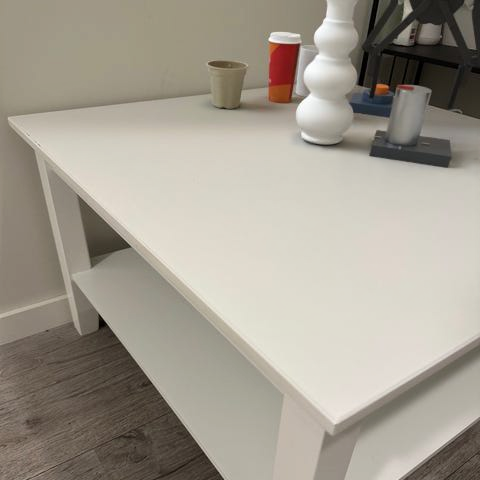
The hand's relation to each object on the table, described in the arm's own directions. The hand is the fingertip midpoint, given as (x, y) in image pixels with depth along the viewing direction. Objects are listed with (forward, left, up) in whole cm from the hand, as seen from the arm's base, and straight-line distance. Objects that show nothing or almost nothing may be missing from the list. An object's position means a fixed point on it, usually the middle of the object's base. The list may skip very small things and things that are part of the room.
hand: (409, 102), depth 86 cm
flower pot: (+40, -15, -9) cm, 44 cm away
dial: (0, 0, -7) cm, 7 cm away
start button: (+7, -28, -5) cm, 29 cm away
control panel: (-2, 0, -9) cm, 9 cm away
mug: (+22, -36, -9) cm, 43 cm away
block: (+7, -28, -9) cm, 30 cm away
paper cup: (+30, -26, -9) cm, 41 cm away
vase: (+15, 0, -9) cm, 17 cm away
